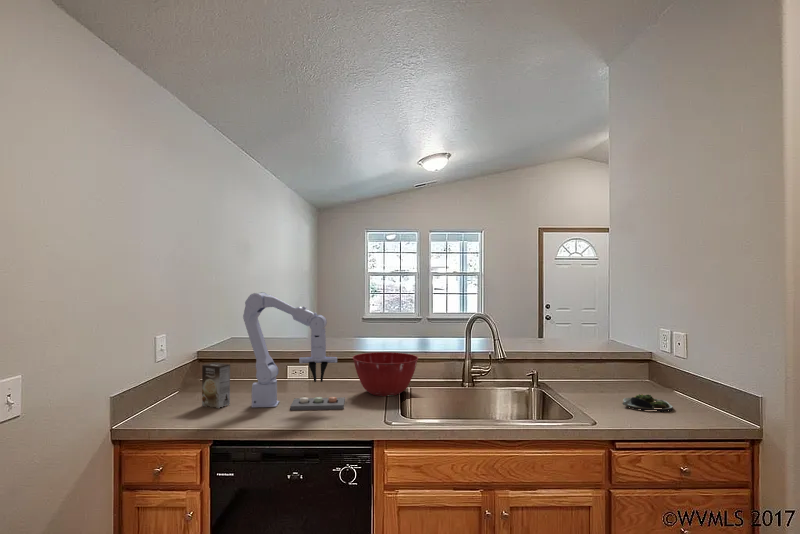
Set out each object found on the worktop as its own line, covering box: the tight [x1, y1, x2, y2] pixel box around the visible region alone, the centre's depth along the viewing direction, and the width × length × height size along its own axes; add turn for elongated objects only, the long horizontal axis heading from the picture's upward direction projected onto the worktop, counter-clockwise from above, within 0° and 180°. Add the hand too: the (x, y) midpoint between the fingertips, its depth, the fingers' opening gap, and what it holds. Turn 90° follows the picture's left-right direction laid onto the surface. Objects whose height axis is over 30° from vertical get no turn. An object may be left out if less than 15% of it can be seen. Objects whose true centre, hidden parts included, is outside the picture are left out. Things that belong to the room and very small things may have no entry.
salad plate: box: [622, 393, 674, 411], centre depth 201 cm, size 19×18×5 cm
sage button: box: [313, 396, 324, 403], centre depth 202 cm, size 3×3×2 cm
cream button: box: [299, 396, 309, 403], centre depth 201 cm, size 3×3×2 cm
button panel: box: [289, 397, 346, 411], centre depth 202 cm, size 20×12×2 cm, turn 94°
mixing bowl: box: [352, 351, 419, 397], centre depth 223 cm, size 28×28×16 cm
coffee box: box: [201, 362, 231, 409], centre depth 202 cm, size 9×6×16 cm
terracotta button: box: [328, 396, 338, 403], centre depth 202 cm, size 3×3×2 cm
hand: (318, 381), depth 202 cm, fingers closed
